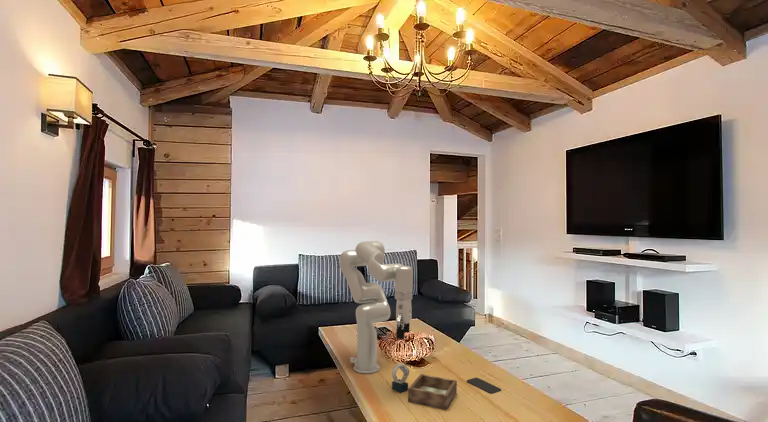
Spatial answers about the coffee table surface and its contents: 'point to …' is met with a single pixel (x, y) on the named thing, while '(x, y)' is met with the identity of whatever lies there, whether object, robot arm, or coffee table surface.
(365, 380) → the coffee table surface
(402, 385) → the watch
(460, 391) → the coffee table surface
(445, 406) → the box
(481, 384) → the phone
